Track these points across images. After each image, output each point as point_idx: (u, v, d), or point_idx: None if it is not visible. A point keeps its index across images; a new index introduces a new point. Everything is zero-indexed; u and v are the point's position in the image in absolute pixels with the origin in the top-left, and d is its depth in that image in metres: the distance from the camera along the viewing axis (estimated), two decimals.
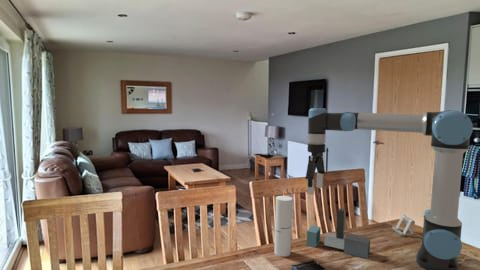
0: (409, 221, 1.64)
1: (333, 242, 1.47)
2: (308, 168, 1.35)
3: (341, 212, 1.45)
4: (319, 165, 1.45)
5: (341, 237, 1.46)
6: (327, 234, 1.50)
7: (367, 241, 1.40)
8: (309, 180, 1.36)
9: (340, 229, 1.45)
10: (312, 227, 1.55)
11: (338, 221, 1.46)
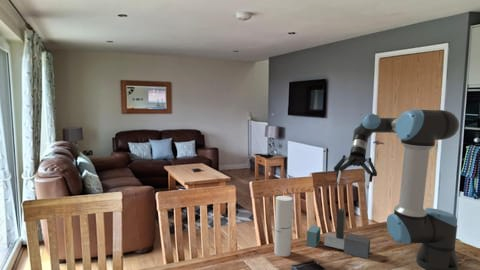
0: None
1: (333, 242, 1.47)
2: None
3: (341, 212, 1.45)
4: (363, 166, 1.59)
5: (341, 237, 1.46)
6: (327, 234, 1.50)
7: (367, 241, 1.40)
8: (337, 172, 1.62)
9: (340, 229, 1.45)
10: (312, 227, 1.55)
11: (338, 221, 1.46)
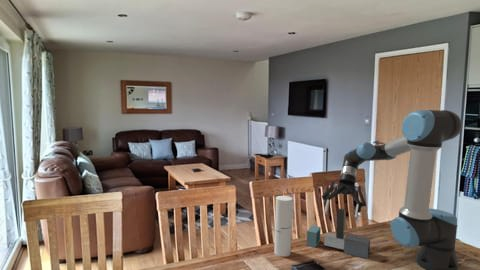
0: None
1: (333, 242, 1.47)
2: None
3: (341, 212, 1.45)
4: (352, 196, 1.53)
5: (341, 237, 1.46)
6: (327, 234, 1.50)
7: (367, 241, 1.40)
8: (325, 200, 1.57)
9: (340, 229, 1.45)
10: (312, 227, 1.55)
11: (338, 221, 1.46)
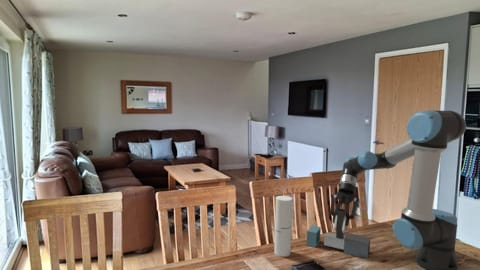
0: None
1: (333, 242, 1.47)
2: None
3: (341, 212, 1.45)
4: None
5: (341, 237, 1.46)
6: (327, 234, 1.50)
7: (367, 241, 1.40)
8: None
9: (340, 229, 1.45)
10: (312, 227, 1.55)
11: (338, 221, 1.46)
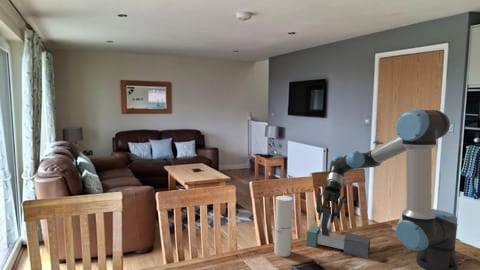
0: None
1: (319, 239, 1.50)
2: None
3: (326, 209, 1.48)
4: (332, 203, 1.52)
5: (326, 234, 1.49)
6: None
7: (367, 241, 1.40)
8: None
9: (326, 226, 1.49)
10: (312, 227, 1.55)
11: (324, 218, 1.49)
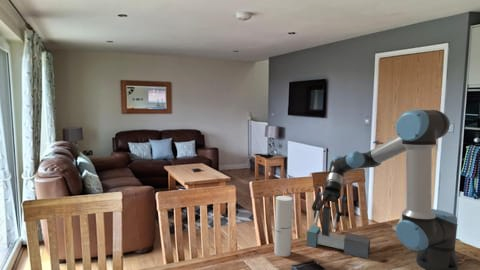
0: None
1: (319, 239, 1.50)
2: None
3: (326, 209, 1.48)
4: None
5: (326, 234, 1.49)
6: None
7: (367, 241, 1.40)
8: (315, 212, 1.53)
9: (326, 226, 1.49)
10: (312, 227, 1.55)
11: (323, 218, 1.49)
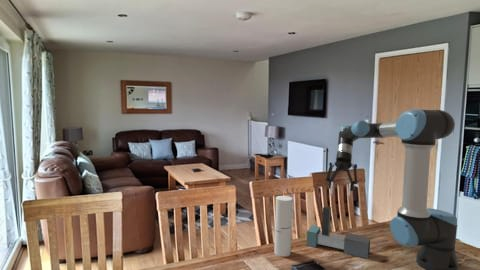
0: None
1: (319, 239, 1.50)
2: None
3: (326, 209, 1.48)
4: (347, 173, 1.62)
5: (326, 234, 1.49)
6: None
7: (367, 241, 1.40)
8: (329, 183, 1.64)
9: (326, 226, 1.49)
10: (312, 227, 1.55)
11: (323, 218, 1.49)
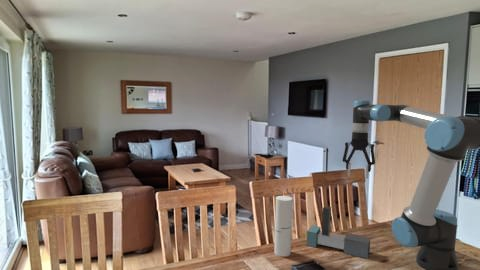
0: None
1: (319, 239, 1.50)
2: None
3: (326, 209, 1.48)
4: None
5: (326, 234, 1.49)
6: None
7: (367, 241, 1.40)
8: None
9: (326, 226, 1.49)
10: (312, 227, 1.55)
11: (323, 218, 1.49)
